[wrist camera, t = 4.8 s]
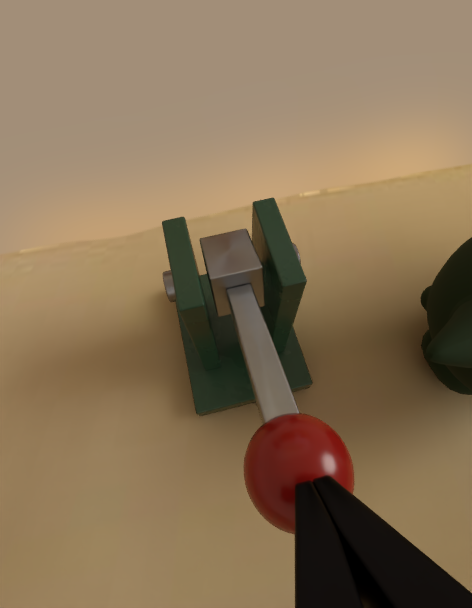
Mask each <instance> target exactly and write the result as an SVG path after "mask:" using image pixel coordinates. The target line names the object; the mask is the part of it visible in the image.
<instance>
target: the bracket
mask: <svg viewBox="0 0 472 608" xmlns="http://www.w3.org/2000/svg"><path fill="white" fill-rule="evenodd" d="M162 226H163V231H164V237H165V242H166V247H167V253H168V258H169V263H170V269H171V270H169V271H165V272H163V281H164V285H165V290H166V293H167V296H168V299H169V301H170V302H176V306H177V312H178V317H179V322H180V328H181V333H182V339H183V344H184V349H185V355H186V360H187V366H188V371H189V376H190V382H191V387H192V393H193V398H194V403H195V409H196V413H197V414H198V415H199V416H203V415H207V414H211V413H214V412H218V411H222V410H226V409H230V408H234V407H237V406H241V405H245V404H249V403H253V402H256V399H255V396H254V392H253V389H252V385H251V382H250V378H249V375H248V371H247V368H246V364H245V361H244V357H243V354H242V351H241V347H240V344H239V340H238V337H237V333H236V330H235V326H234V323H233V319H232V316H231V314H229V315H225V316H221V317H218V316H217V312H216V308H215V304H214V300H213V296H212V292H211V288H210V284H209V280H208V276H207V274H205V275H201V276H200V275H199V271H198V267H197V263H196V259H195V255H194V252H193V248H192V244H191V240H190V236H189V232H188V228H187V224H186V220H185V218H184V217H180V218H175V219H170V220H166V221H163V222H162ZM252 243H253V245H254V247H255V250H256V252H257V254H258V257H259V259H260V261H261V264H262V266H263V277H264V297H265V306H263V307H260V309H261V311H262V314H263V317H264V319H265V322H266V325H267V327H268V330H269V333H270V335H271V338H272V341H273V343H274V346H275V348H276V351H277V354H278V356H279V359H280V362H281V364H282V367H283V370H284V372H285V375H286V378H287V380H288V383H289V386H290V388H291V391H292V392H295V391H299V390H302V389H306V388H309V387H310V386H311V385H312V380H311V377H310V374H309V371H308V368H307V365H306V363H305V360H304V357H303V354H302V351H301V348H300V345H299V343H298V340H297V337H296V334H295V331H294V328H293V323H294V319H295V316H296V313H297V310H298V307H299V304H300V301H301V298H302V294H303V291H304V288H305V285H306V282H307V279H306V277H305V274H304V272H303V269H302V267H301V261H300V256H299V252H298V249H297V247H296V245H295V244H294V243H292V242H291V239H290V237H289V234H288V232H287V229H286V227H285V224H284V222H283V219H282V217H281V214H280V212H279V209H278V207H277V204H276V202H275V199H274V198H269V199H264V200H260V201H255V202H253V211H252Z"/></svg>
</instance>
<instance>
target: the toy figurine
mask: <svg viewBox="0 0 472 608" xmlns="http://www.w3.org/2000/svg"><path fill="white" fill-rule="evenodd" d="M421 304H422V306H423V307H424V309H425V310H426V311H427V320H428V326H429V330H427V332H426V333H425V335H424V336H423V340H422V345H421V346H422V350H423V354H424V357H425V359H426V361H427V362H428V364H429V366H430V367H431V369H432V370H433V372H434V373H435V375H436V376H437V377H438V379H439V380H440V381H441V382H442V383H443V384H444V385H446V386H447V387H448V388H449V389H450V390H453V391H455V392H458V393H460V394H467V395H472V238H470V239H469V240H467V241H466V242H465V243H464V244H462V245H461V246H460V247H459V248H458V249H457V250H456V251H455V252H454V254H453V255H452V256H451V257H450V258H449V259H448V260H447V262H446V263H445V265H444V266H443V267H442V269H441V270H440V272H439V273H438V275H437V276H436V278H435V280H434V282H433V284H432V285H431V286H429V287H427V288H426V289H425V290H424V291H423V293H422V294H421Z"/></svg>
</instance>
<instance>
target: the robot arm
mask: <svg viewBox="0 0 472 608" xmlns="http://www.w3.org/2000/svg"><path fill="white" fill-rule="evenodd" d="M295 608H472V593H471V592H470V591H469V590H467V589H466V588H465V587H464V586H463V585H461V584H460V583H459V582H458V581H456V580H455V579H454V578H453V577H452V576H450V575H449V574H448V573H447V572H446V571H444V570H443V569H442V568H441V567H440V566H438V565H437V564H436V563H435V562H434V561H432V560H431V559H430V558H429V557H428V556H426V555H425V554H424V553H423V552H422V551H420V550H419V549H418V548H417V547H415V546H414V545H413V544H412V543H411V542H409V541H408V540H407V539H406V538H405V537H403V536H402V535H401V534H400V533H399V532H397V531H396V530H395V529H394V528H393V527H391V526H390V525H389V524H388V523H387V522H385V521H384V520H383V519H382V518H381V517H379V516H378V515H377V514H376V513H375V512H373V511H372V510H371V509H370V508H368V507H367V506H366V505H365V504H364V503H362V502H361V501H360V500H359V499H358V498H356V497H355V496H354V495H353V494H352V493H350V492H349V491H348V490H347V489H346V488H344V487H343V486H342V485H341V484H340V483H338V482H337V481H336V480H335V479H334V478H332V477H331V476H329V475H325V476H321V477H318V478H314V479H313V481H311V480H307V481H304V482H300V483H297V484H296V485H295Z"/></svg>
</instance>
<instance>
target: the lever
mask: <svg viewBox="0 0 472 608" xmlns="http://www.w3.org/2000/svg"><path fill="white" fill-rule="evenodd" d="M200 244H201V249H202V253H203V258H204V262H205V267H206V271H207V276H208V280H209V284H210V288H211V292H212V296H213V300H214V304H215V308H216V312H217V316H218V317H221V316H225V315H229V314H231V316H232V319H233V323H234V326H235V330H236V333H237V337H238V340H239V344H240V347H241V351H242V354H243V357H244V361H245V364H246V368H247V371H248V375H249V378H250V382H251V385H252V389H253V392H254V396H255V399H256V403H257V406H258V409H259V413H260V416H261V420H262V423H263V425H262V426H261V427H260V428H259V429H258V430H257V431H256V432H255V434H254V435H253V437H252V438H251V440H250V442H249V445H248V447H247V450H246V454H245V458H244V479H245V485H246V488H247V492H248V494H249V496H250V499H251V501H252V502H253V504H254V506H255V507H256V509H257V510H258V512H259V513H260V514H261V515H262V516H263V517H264V518H265V519H266V520H267V521H268V522H269V523H271V524H272V525H273V526H275V527H277V528H278V529H280V530H282V531H285V532H287V533H291V534H295V485H296V484H297V483H300V482H304V481H307V480H311V481H313V479H314V478H318V477H321V476H325V475H329V476H331V477H332V478H334V479H335V480H336V481H337V482H338V483H340V484H341V485H342V486H343V487H344V488H346V489H347V490H348V491H349V492H350V493H352V494H353V490H354V469H353V463H352V459H351V456H350V454H349V451H348V449H347V447H346V445H345V444H344V442H343V441H342V439H341V438H340V436H339V435H338V434H337V433H336V432H335V431H334V430H333V429H332V428H331V427H330V426H329V425H327V424H326V423H325V422H323V421H321V420H320V419H318V418H316V417H313V416H310V415H307V414H302V413H300V412H299V410H298V407H297V404H296V402H295V399H294V396H293V394H292V391H291V388H290V386H289V383H288V380H287V378H286V375H285V372H284V370H283V367H282V364H281V362H280V359H279V356H278V354H277V351H276V348H275V346H274V343H273V341H272V338H271V335H270V333H269V330H268V327H267V325H266V322H265V319H264V317H263V314H262V311H261V309H260V307H263V306H265V297H264V277H263V266H262V264H261V261H260V259H259V257H258V254H257V252H256V250H255V247H254V245H253V243H252V241H251V238H250V236H249V234H248V231H247V229H241V230H237V231H232V232H227V233H223V234H218V235H214V236H209V237H205V238H200Z"/></svg>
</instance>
